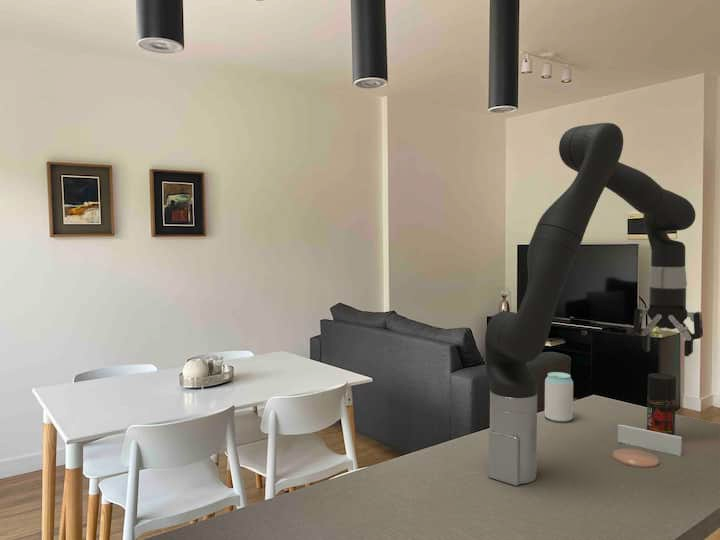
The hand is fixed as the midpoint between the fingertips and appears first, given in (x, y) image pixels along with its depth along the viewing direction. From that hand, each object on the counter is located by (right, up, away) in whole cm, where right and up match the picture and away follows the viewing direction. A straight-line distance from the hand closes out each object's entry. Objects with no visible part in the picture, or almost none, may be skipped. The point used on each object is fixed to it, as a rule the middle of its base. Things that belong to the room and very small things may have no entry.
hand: (666, 353), depth 130 cm
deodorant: (-1, -21, +2) cm, 21 cm away
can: (-20, -20, +16) cm, 32 cm away
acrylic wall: (-7, -21, -5) cm, 23 cm away
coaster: (-13, -21, -11) cm, 27 cm away
